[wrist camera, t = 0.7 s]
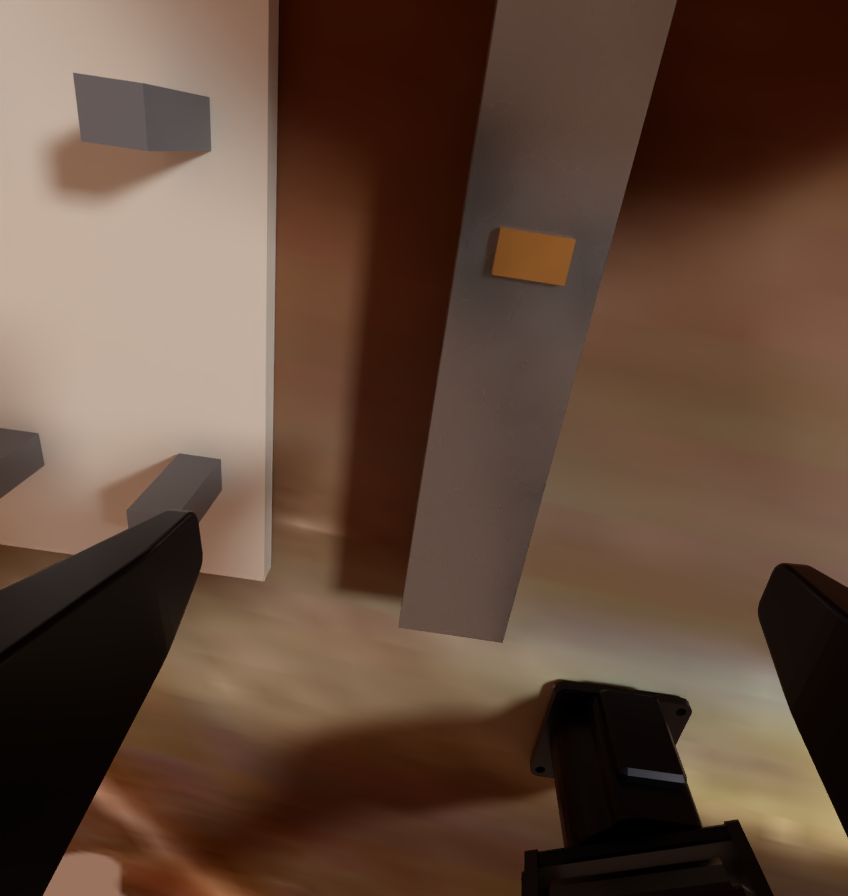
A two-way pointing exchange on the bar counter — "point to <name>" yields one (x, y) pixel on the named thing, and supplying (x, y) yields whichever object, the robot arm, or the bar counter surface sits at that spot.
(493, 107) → the grey square bar
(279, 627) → the bar counter surface
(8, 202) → the collar stand
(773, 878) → the bar counter surface
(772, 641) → the robot arm
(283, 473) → the bar counter surface
